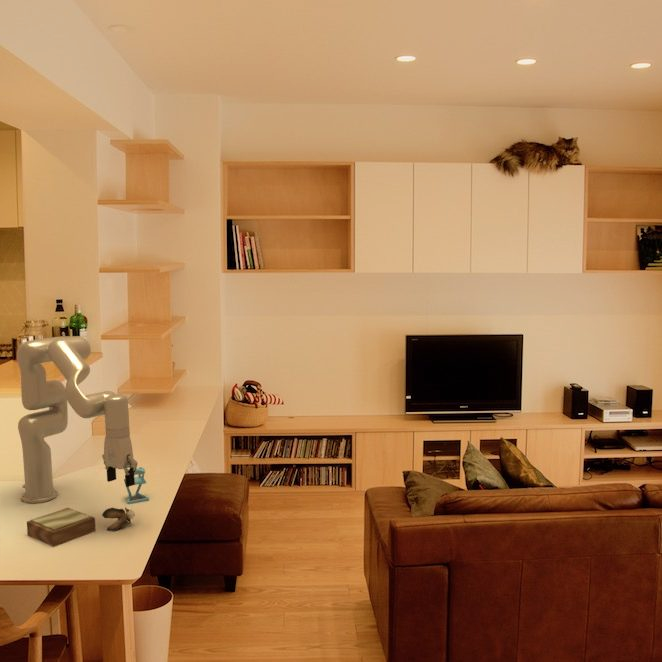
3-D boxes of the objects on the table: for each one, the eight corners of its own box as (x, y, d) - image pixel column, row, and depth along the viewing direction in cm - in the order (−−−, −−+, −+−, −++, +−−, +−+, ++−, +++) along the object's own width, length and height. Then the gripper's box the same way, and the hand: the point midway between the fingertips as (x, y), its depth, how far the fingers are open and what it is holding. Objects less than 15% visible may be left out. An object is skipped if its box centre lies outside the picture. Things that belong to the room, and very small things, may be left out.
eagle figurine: (120, 515, 250) (98, 518, 243) (129, 500, 248) (107, 503, 241) (131, 532, 246) (108, 536, 239) (140, 517, 244) (117, 520, 237)
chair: (143, 493, 275) (142, 462, 273) (149, 500, 267) (147, 468, 266) (122, 497, 271) (120, 465, 270) (127, 504, 264) (126, 471, 262)
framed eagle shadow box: (27, 534, 238) (26, 520, 237) (68, 520, 249) (68, 506, 249) (53, 546, 228) (53, 531, 228) (95, 530, 240) (94, 516, 240)
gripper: (92, 431, 244) (95, 481, 246) (124, 438, 233) (127, 491, 235) (111, 426, 249) (114, 475, 251) (144, 433, 239) (146, 484, 241)
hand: (120, 483), depth 243 cm, fingers open, 9 cm apart
